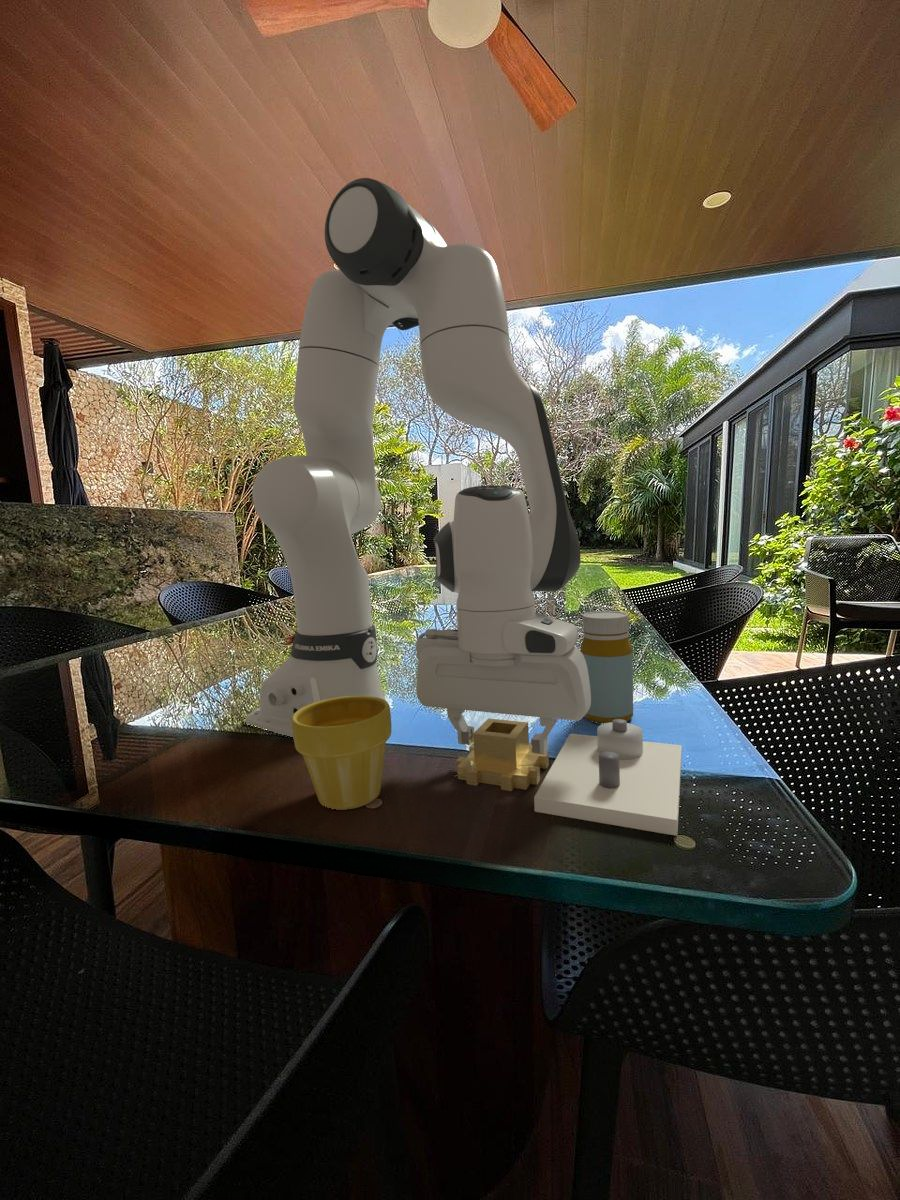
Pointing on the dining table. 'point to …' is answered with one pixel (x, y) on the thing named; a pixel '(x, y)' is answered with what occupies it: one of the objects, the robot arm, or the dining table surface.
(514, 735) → the gear
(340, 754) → the plant pot
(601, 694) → the bottle
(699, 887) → the dining table surface
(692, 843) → the dining table surface
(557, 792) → the carrier plate
